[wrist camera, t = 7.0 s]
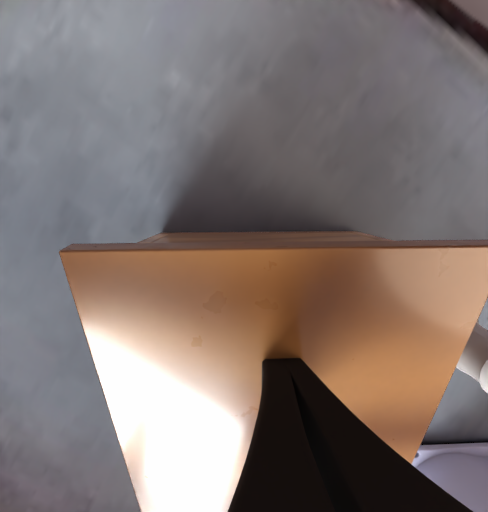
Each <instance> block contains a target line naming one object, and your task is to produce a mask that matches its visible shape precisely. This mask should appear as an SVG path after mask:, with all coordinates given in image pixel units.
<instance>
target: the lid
mask: <svg viewBox="0 0 488 512" xmlns="http://www.w3.org/2000/svg"><path fill="white" fill-rule="evenodd" d="M59 254H60V257H61V260H62V263H63V266H64V270H65V273H66V276H67V279H68V282H69V285H70V289H71V292H72V295H73V298H74V301H75V304H76V308H77V311H78V314H79V317H80V320H81V323H82V327H83V330H84V333H85V336H86V339H87V342H88V346H89V349H90V352H91V355H92V358H93V361H94V365H95V368H96V371H97V374H98V377H99V380H100V384H101V387H102V390H103V393H104V396H105V399H106V403H107V406H108V409H109V412H110V415H111V418H112V422H113V425H114V428H115V431H116V434H117V437H118V441H119V444H120V447H121V450H122V453H123V456H124V460H125V463H126V466H127V469H128V472H129V475H130V479H131V482H132V485H133V488H134V491H135V494H136V498H137V501H138V504H139V507H140V510H141V512H228V509H229V507H230V504H231V501H232V498H233V495H234V493H235V490H236V487H237V484H238V482H239V479H240V476H241V472H242V469H243V466H244V463H245V460H246V457H247V453H248V450H249V447H250V443H251V440H252V436H253V432H254V427H255V423H256V419H257V415H258V411H259V405H260V399H261V390H262V361H263V360H265V359H280V358H301V359H302V360H303V361H304V362H305V363H306V364H307V365H308V366H309V368H310V369H311V370H312V371H313V372H314V373H315V374H316V375H317V376H318V377H319V378H320V380H321V381H322V382H323V383H324V384H325V385H326V386H327V387H328V388H329V389H330V390H331V391H332V392H333V393H334V394H335V395H336V396H337V397H338V398H339V399H340V400H341V401H342V402H343V403H344V404H345V405H346V406H347V407H348V408H349V409H350V411H352V412H353V413H354V414H355V415H356V416H357V417H358V418H359V419H360V420H361V421H362V422H363V423H364V424H365V425H366V426H367V427H369V428H370V429H371V430H372V431H373V432H374V433H375V434H376V435H377V436H378V437H379V438H381V439H382V440H383V441H384V442H385V443H386V444H388V445H389V446H390V447H391V448H392V449H393V450H395V451H396V452H397V453H398V454H399V455H401V456H402V457H403V458H404V459H406V460H407V461H408V462H409V463H410V464H412V462H413V460H414V458H415V455H416V453H417V451H418V449H419V447H420V444H421V442H422V440H423V438H424V436H425V434H426V431H427V429H428V427H429V425H430V423H431V420H432V418H433V416H434V414H435V412H436V410H437V407H438V405H439V403H440V401H441V399H442V396H443V394H444V392H445V390H446V388H447V386H448V383H449V381H450V379H451V377H452V375H453V372H454V370H455V368H456V366H457V364H458V361H459V359H460V357H461V355H462V353H463V351H464V348H465V346H466V344H467V342H468V340H469V337H470V335H471V333H472V331H473V329H474V327H475V324H476V322H477V320H478V318H479V316H480V313H481V311H482V309H483V307H484V305H485V302H486V300H487V298H488V240H406V241H308V242H209V243H110V244H71V245H69V246H67V247H66V248H64V249H62V250H60V251H59Z"/></svg>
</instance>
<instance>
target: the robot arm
mask: <svg viewBox="0 0 488 512" xmlns="http://www.w3.org/2000/svg"><path fill="white" fill-rule="evenodd" d="M228 512H488V442H486V443H462V444H438V445H420V447H419V449H418V451H417V453H416V455H415V458H414V460H413V462H412V464H410V463H409V462H408V461H407V460H406V459H404V458H403V457H402V456H401V455H399V454H398V453H397V452H396V451H395V450H393V449H392V448H391V447H390V446H389V445H388V444H386V443H385V442H384V441H383V440H382V439H381V438H379V437H378V436H377V435H376V434H375V433H374V432H373V431H372V430H371V429H370V428H369V427H367V426H366V425H365V424H364V423H363V422H362V421H361V420H360V419H359V418H358V417H357V416H356V415H355V414H354V413H353V412H352V411H350V409H349V408H348V407H347V406H346V405H345V404H344V403H343V402H342V401H341V400H340V399H339V398H338V397H337V396H336V395H335V394H334V393H333V392H332V391H331V390H330V389H329V388H328V387H327V386H326V385H325V384H324V383H323V382H322V381H321V380H320V378H319V377H318V376H317V375H316V374H315V373H314V372H313V371H312V370H311V369H310V368H309V366H308V365H307V364H306V363H305V362H304V361H303V360H302V359H301V358H280V359H265V360H263V361H262V390H261V399H260V405H259V411H258V415H257V419H256V423H255V427H254V432H253V436H252V440H251V443H250V447H249V450H248V453H247V457H246V460H245V463H244V466H243V469H242V472H241V476H240V479H239V482H238V484H237V487H236V490H235V493H234V495H233V498H232V501H231V504H230V507H229V509H228Z"/></svg>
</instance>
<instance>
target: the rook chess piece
mask: <svg viewBox="0 0 488 512" xmlns="http://www.w3.org/2000/svg"><path fill="white" fill-rule="evenodd" d="M456 368H458V369H459V370H461V371H463V372H465V373H466V374H468V375H470V376H471V377H473V378H474V379H475V380H477V381H478V382H480V384H481V387H482V389H483V390H484V391H485V392H486V393H487V394H488V330H486V329H485V328H483V327H482V326H480V325H479V323H478V321H477V322H476V324H475V327H474V329H473V331H472V333H471V335H470V337H469V340H468V342H467V344H466V346H465V348H464V351H463V353H462V355H461V357H460V359H459V361H458V364H457V366H456Z"/></svg>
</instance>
